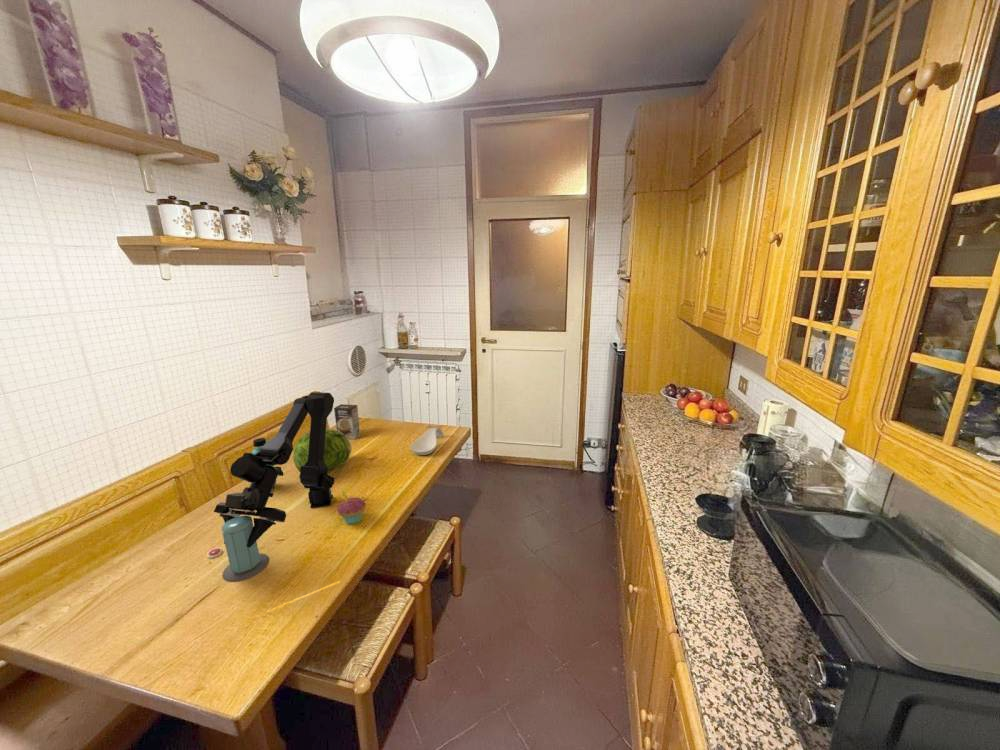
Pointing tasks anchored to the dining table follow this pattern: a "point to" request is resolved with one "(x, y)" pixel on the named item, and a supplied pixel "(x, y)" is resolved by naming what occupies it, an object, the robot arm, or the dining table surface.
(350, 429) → the coffee box
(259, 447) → the beverage bottle
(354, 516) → the cupcake
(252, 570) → the disc
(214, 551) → the dip bowl
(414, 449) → the spoon rest
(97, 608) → the dining table surface
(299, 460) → the lettuce
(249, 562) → the blue-grey tall faceted cylinder
